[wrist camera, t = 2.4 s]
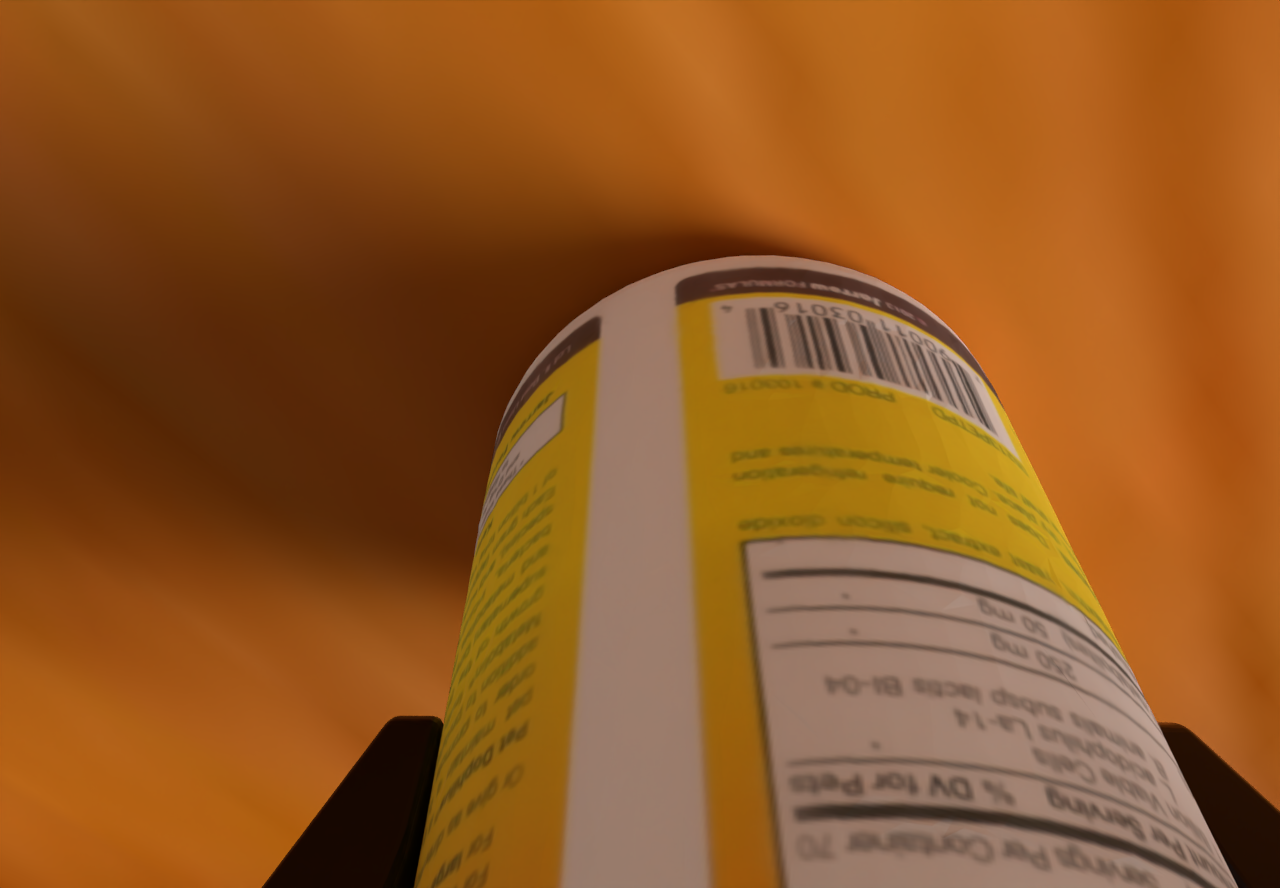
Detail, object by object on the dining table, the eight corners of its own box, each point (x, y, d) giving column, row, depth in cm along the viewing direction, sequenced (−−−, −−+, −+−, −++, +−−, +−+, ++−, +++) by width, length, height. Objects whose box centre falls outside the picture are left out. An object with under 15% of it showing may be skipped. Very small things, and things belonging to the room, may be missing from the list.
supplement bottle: (603, 665, 14) (544, 2056, 6) (413, 326, 11) (-267, 2256, 3) (1028, 562, 13) (1676, 2112, 5) (947, 150, 10) (2406, 2561, 2)
